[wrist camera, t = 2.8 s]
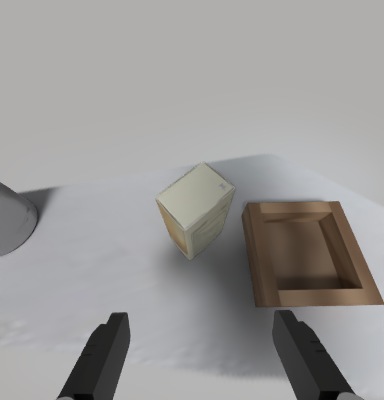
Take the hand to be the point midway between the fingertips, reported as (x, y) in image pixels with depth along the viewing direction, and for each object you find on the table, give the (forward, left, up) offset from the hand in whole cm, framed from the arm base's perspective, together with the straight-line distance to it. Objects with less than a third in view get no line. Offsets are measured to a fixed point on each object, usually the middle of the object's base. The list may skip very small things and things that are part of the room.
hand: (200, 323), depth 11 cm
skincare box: (0, +10, -14) cm, 17 cm away
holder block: (+13, +7, -14) cm, 20 cm away
